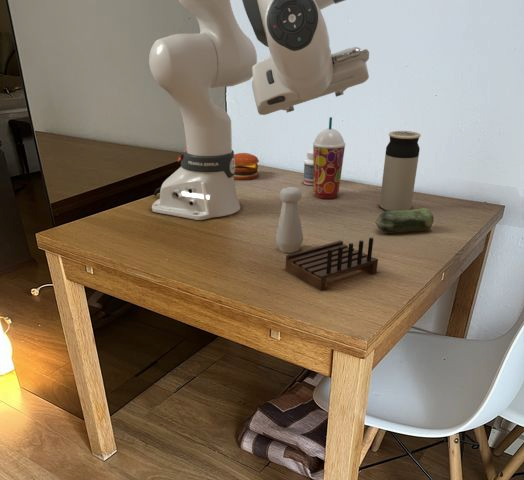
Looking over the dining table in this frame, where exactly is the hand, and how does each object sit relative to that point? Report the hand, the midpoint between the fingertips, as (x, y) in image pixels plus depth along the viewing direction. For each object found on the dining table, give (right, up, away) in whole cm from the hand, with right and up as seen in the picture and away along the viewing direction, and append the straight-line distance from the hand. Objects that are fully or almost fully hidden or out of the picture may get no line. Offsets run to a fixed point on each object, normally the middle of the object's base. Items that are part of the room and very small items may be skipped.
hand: (314, 99), depth 102 cm
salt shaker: (-4, -26, +15) cm, 30 cm away
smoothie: (+8, -5, +47) cm, 48 cm away
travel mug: (+25, -10, +39) cm, 47 cm away
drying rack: (+4, -32, +5) cm, 32 cm away
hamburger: (-16, +6, +64) cm, 66 cm away
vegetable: (+23, -20, +24) cm, 38 cm away
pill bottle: (+5, +2, +57) cm, 58 cm away
